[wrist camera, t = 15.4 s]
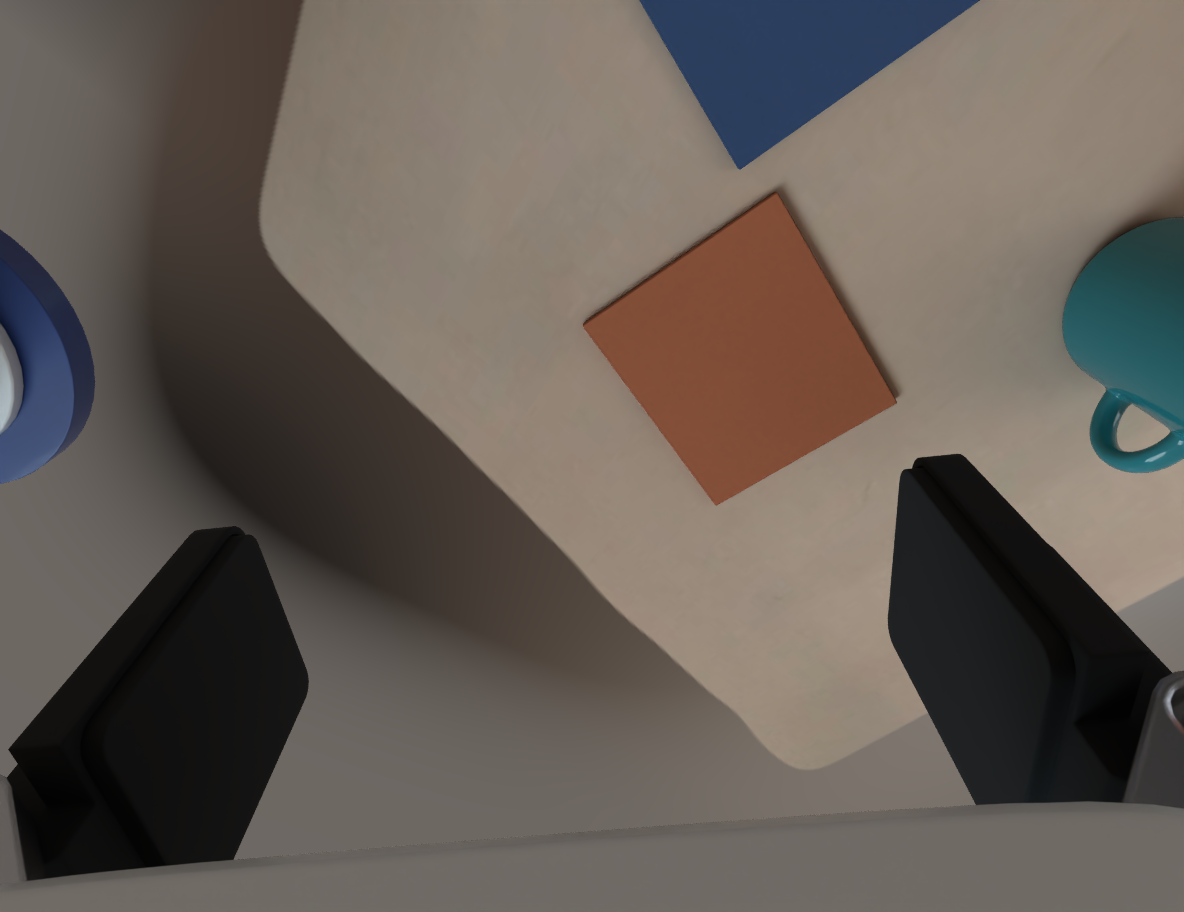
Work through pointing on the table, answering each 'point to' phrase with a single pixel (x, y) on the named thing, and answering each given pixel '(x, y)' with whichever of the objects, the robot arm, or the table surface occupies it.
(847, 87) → the blue mat
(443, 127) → the table surface
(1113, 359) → the cup
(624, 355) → the terracotta mat
